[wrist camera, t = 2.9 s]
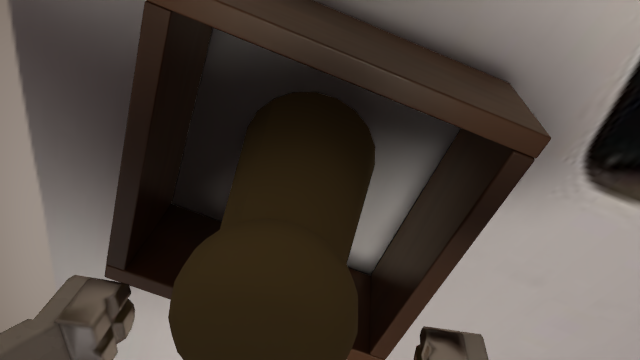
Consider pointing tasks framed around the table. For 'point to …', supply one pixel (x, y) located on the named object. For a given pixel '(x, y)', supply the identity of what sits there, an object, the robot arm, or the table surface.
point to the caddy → (348, 65)
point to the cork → (281, 241)
